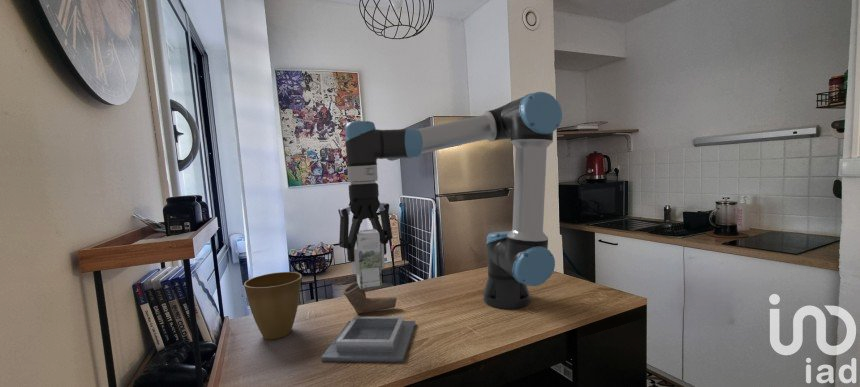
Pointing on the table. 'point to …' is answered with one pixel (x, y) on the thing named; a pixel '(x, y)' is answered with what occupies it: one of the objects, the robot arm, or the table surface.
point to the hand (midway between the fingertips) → (368, 270)
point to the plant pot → (274, 302)
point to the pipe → (367, 300)
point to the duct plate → (371, 340)
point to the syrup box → (369, 259)
